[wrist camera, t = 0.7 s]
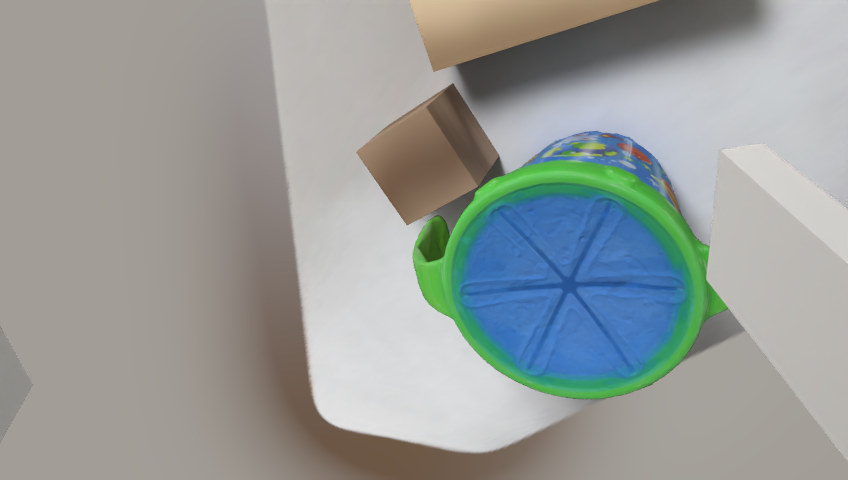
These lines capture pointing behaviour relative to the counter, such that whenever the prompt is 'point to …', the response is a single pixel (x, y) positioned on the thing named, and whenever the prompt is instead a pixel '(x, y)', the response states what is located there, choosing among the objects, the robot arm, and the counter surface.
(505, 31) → the oak base slab
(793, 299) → the robot arm
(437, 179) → the walnut block
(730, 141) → the counter surface
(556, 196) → the snack cup
